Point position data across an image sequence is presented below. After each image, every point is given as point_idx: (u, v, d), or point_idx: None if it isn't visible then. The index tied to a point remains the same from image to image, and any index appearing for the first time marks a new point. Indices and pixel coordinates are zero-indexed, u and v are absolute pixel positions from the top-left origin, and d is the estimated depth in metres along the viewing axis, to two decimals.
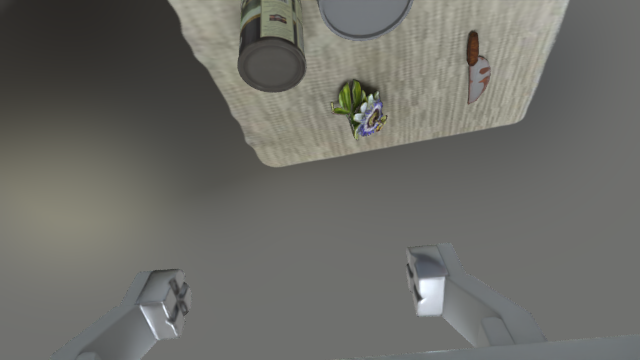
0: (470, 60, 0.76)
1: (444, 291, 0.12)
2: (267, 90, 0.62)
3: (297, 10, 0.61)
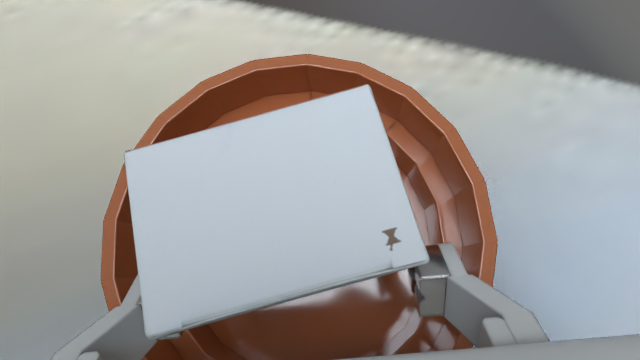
0: None
1: (446, 291, 0.12)
2: None
3: None
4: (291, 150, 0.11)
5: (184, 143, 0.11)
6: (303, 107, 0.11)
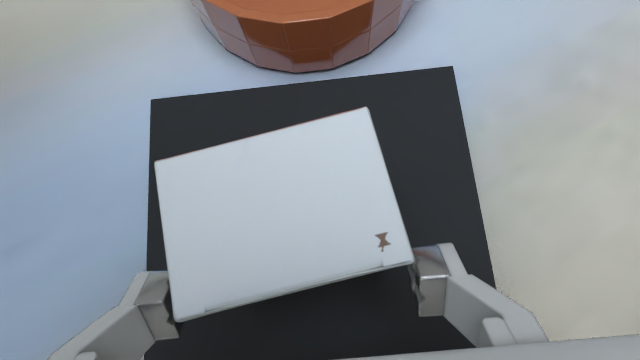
0: None
1: (446, 291, 0.12)
2: None
3: None
4: (299, 164, 0.13)
5: (206, 155, 0.13)
6: (310, 126, 0.13)
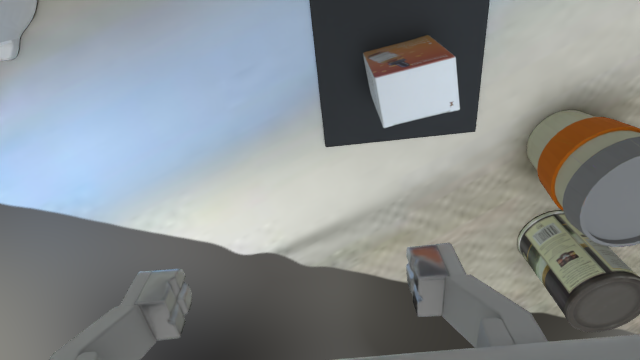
0: None
1: (444, 291, 0.12)
2: (624, 322, 0.51)
3: (573, 226, 0.55)
4: (428, 79, 0.37)
5: (395, 75, 0.37)
6: (433, 64, 0.36)
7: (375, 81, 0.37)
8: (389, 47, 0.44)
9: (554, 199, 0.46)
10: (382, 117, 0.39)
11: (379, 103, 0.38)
